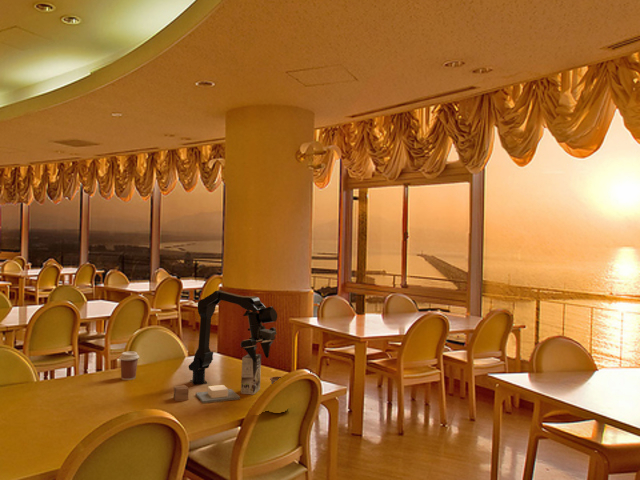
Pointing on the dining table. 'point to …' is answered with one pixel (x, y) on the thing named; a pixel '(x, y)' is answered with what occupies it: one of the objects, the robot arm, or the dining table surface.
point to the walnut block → (181, 393)
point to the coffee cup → (128, 365)
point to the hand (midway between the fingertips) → (261, 359)
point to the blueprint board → (208, 399)
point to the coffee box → (250, 374)
